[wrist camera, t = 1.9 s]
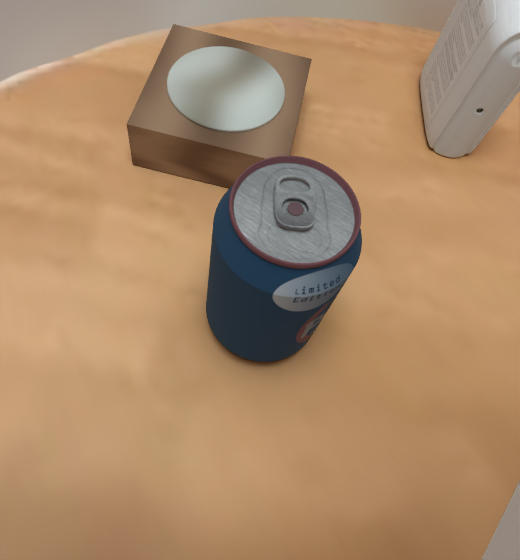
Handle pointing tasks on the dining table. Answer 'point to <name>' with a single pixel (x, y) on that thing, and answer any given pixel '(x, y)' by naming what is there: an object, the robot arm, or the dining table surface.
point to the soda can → (280, 255)
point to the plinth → (216, 107)
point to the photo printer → (471, 74)
